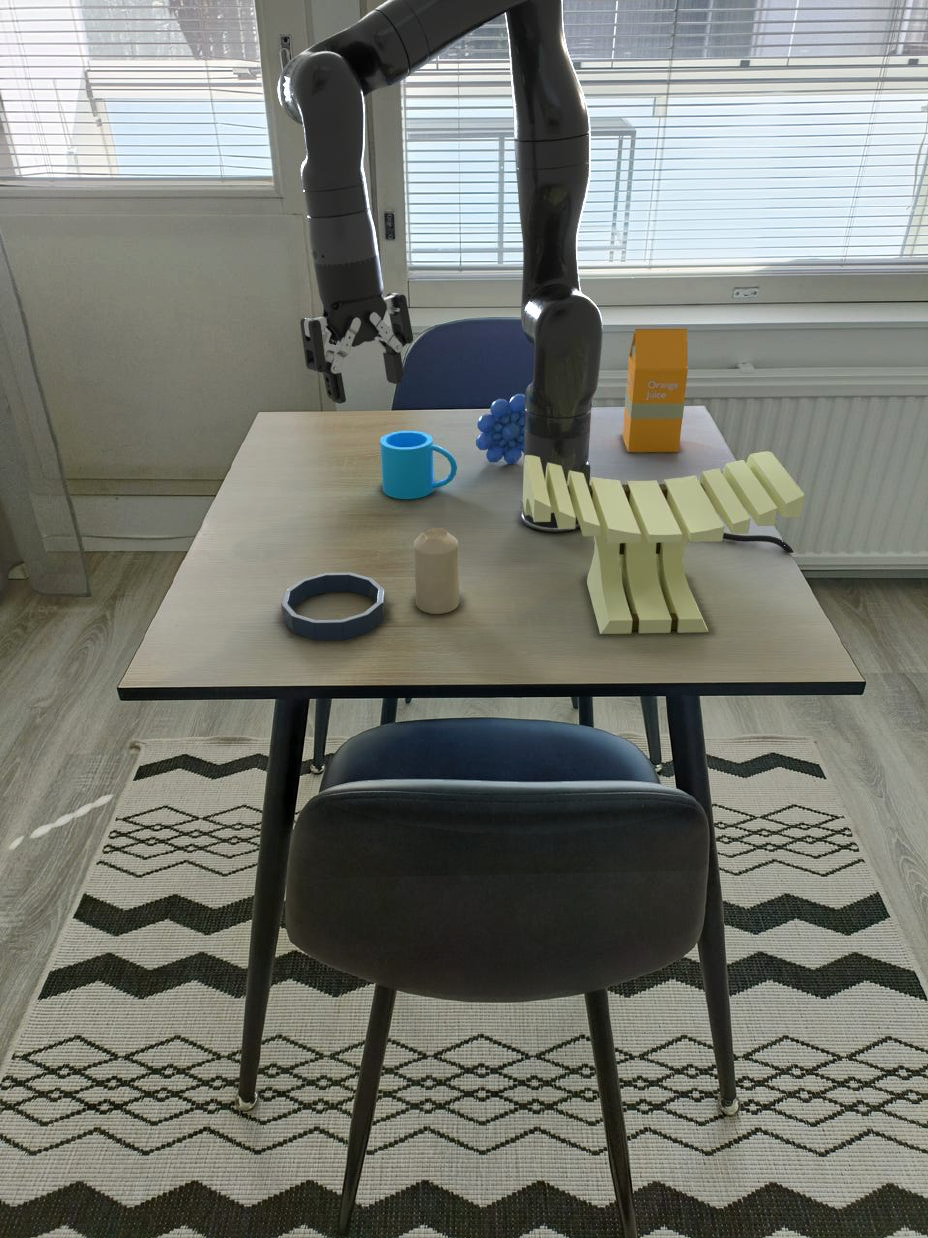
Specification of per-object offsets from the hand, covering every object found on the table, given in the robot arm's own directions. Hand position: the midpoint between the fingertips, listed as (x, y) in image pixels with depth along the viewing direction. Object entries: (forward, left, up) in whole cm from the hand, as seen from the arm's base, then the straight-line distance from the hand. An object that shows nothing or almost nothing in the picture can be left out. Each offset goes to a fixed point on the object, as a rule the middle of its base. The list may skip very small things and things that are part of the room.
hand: (367, 391), depth 118 cm
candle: (-8, +10, -25) cm, 28 cm away
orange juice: (-45, -44, -25) cm, 67 cm away
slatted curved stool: (-34, +10, -25) cm, 43 cm away
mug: (-5, -26, -25) cm, 36 cm away
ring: (+5, +12, -24) cm, 28 cm away
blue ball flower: (-20, -37, -25) cm, 48 cm away
